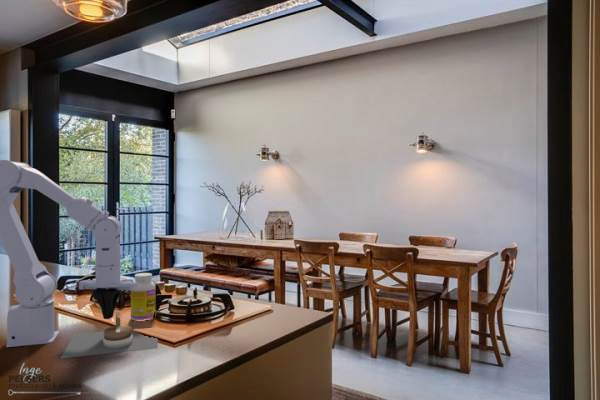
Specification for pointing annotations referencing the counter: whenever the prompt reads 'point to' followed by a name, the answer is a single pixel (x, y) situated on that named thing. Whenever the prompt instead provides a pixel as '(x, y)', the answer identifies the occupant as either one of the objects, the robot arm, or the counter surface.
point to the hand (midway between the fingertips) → (108, 317)
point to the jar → (117, 343)
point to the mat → (94, 346)
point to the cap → (117, 330)
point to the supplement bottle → (143, 297)
